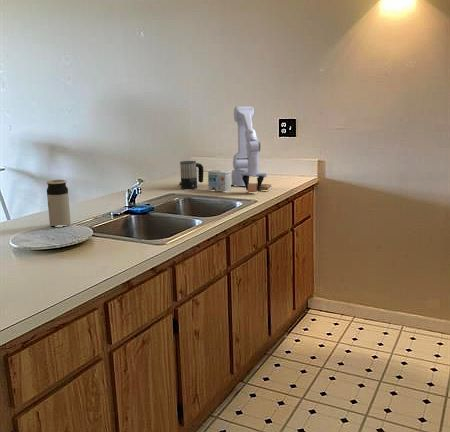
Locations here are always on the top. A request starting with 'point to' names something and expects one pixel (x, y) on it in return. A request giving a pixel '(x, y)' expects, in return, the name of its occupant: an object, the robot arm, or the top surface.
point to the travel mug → (58, 203)
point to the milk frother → (190, 174)
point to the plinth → (265, 186)
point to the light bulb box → (219, 180)
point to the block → (252, 187)
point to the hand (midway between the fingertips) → (253, 190)
